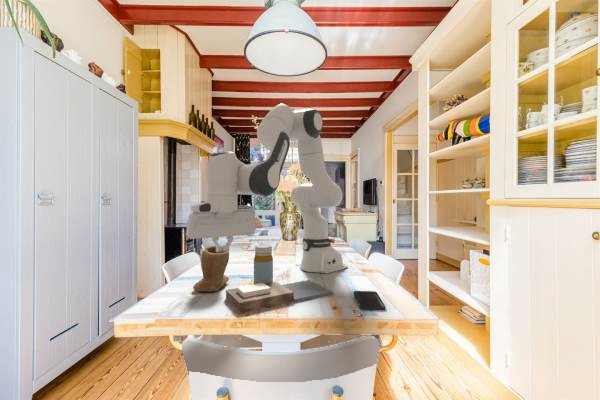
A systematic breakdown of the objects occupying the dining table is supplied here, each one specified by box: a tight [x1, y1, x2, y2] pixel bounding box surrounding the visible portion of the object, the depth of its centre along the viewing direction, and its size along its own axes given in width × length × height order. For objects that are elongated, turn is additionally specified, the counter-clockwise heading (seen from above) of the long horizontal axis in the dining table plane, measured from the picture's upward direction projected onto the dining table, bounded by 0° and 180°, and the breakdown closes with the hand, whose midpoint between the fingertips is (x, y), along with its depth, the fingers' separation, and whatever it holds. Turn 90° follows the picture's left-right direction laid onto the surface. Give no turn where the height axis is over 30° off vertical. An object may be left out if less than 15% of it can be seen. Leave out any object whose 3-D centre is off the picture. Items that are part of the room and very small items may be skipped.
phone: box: [353, 290, 386, 311], centre depth 95 cm, size 8×1×15 cm
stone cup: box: [192, 245, 230, 293], centre depth 108 cm, size 15×12×15 cm
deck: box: [225, 281, 294, 314], centre depth 95 cm, size 18×13×3 cm
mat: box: [281, 279, 334, 303], centre depth 104 cm, size 15×15×1 cm
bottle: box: [253, 244, 274, 284], centre depth 109 cm, size 7×7×15 cm
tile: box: [236, 283, 271, 297], centre depth 94 cm, size 9×6×2 cm, turn 121°
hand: (222, 251), depth 88 cm, fingers closed
